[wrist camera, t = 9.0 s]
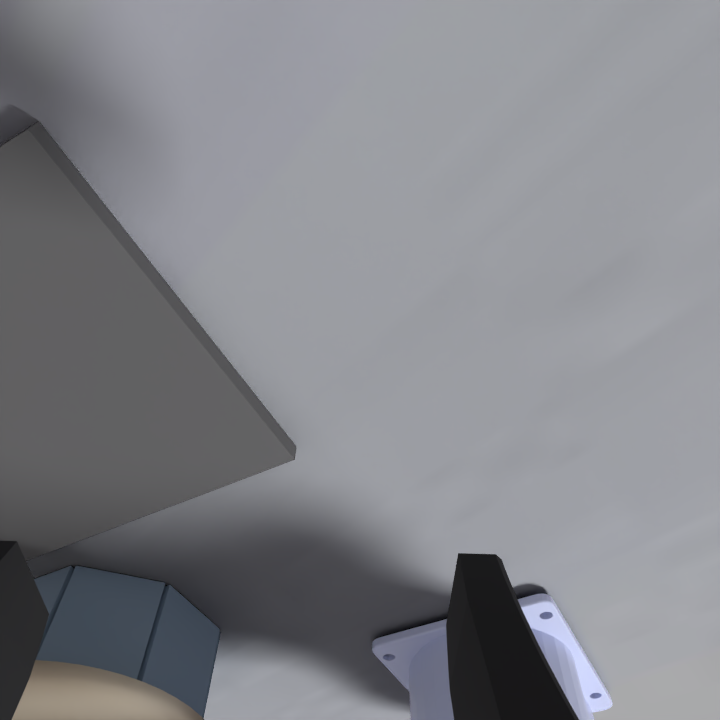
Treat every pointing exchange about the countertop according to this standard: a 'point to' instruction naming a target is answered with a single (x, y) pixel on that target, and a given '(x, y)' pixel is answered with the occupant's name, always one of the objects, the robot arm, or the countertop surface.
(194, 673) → the bowl
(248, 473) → the mat
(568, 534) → the countertop surface
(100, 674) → the lid
